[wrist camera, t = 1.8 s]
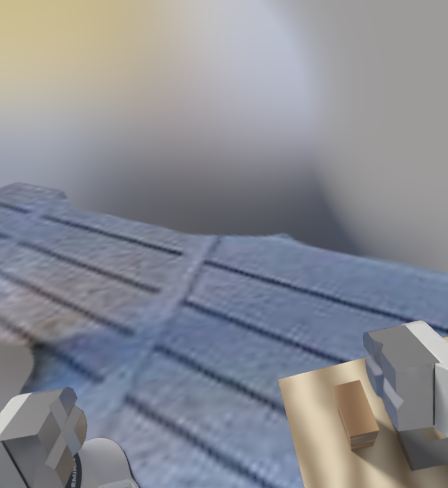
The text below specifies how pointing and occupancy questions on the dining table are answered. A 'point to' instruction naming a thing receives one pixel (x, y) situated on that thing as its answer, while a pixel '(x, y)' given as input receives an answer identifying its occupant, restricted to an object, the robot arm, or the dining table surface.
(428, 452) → the rectangular frame
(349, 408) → the walnut slat
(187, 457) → the dining table surface
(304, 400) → the birch board
